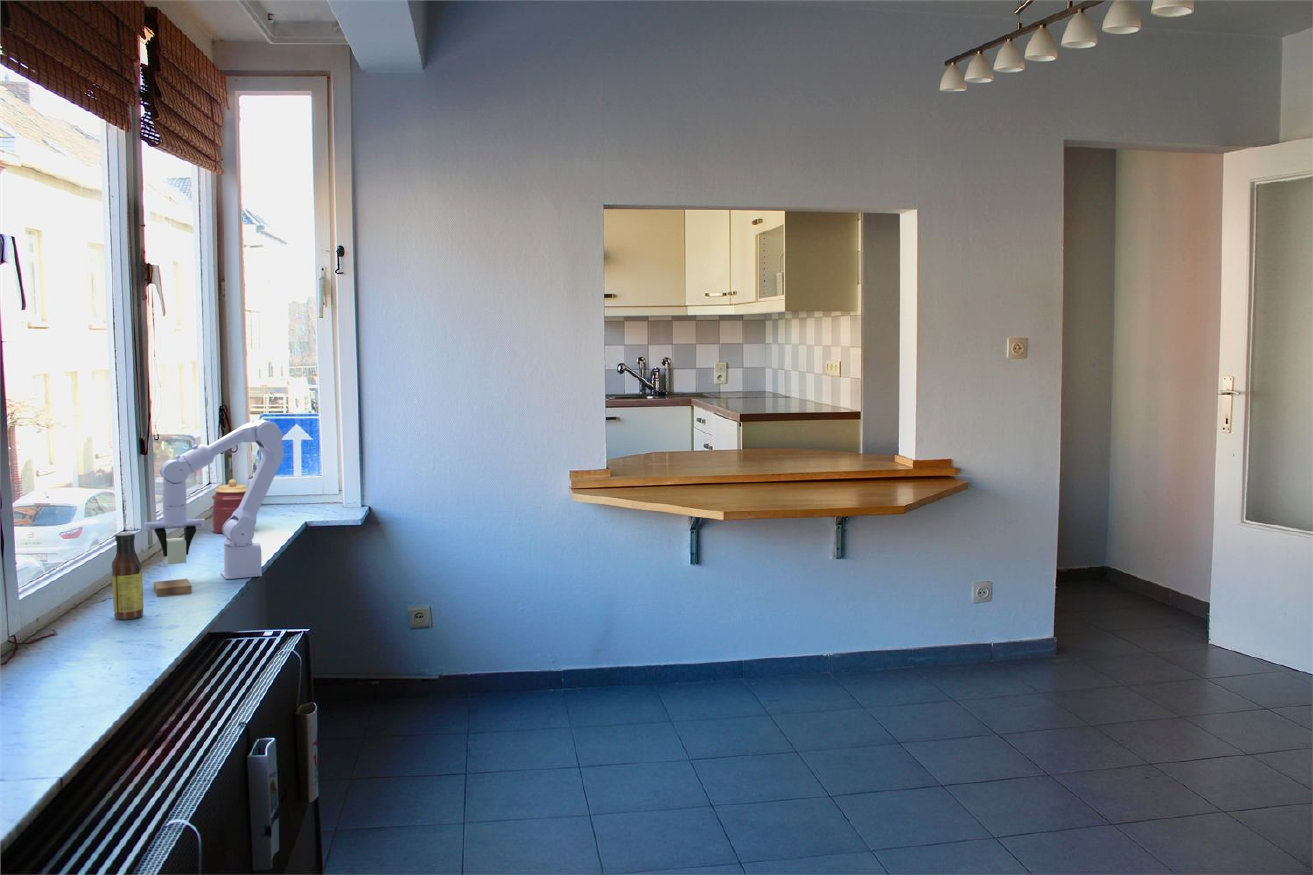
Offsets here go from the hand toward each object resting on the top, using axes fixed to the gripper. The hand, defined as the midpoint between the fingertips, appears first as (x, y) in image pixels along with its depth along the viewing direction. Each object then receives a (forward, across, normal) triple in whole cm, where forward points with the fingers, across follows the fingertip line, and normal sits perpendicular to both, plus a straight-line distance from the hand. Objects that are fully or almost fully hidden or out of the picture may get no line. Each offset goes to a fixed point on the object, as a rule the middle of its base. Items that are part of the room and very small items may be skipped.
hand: (175, 554), depth 269 cm
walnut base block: (+8, -2, -10) cm, 13 cm away
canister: (+8, +26, +68) cm, 73 cm away
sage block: (+2, 0, 0) cm, 2 cm away
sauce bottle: (+8, -14, -31) cm, 35 cm away
